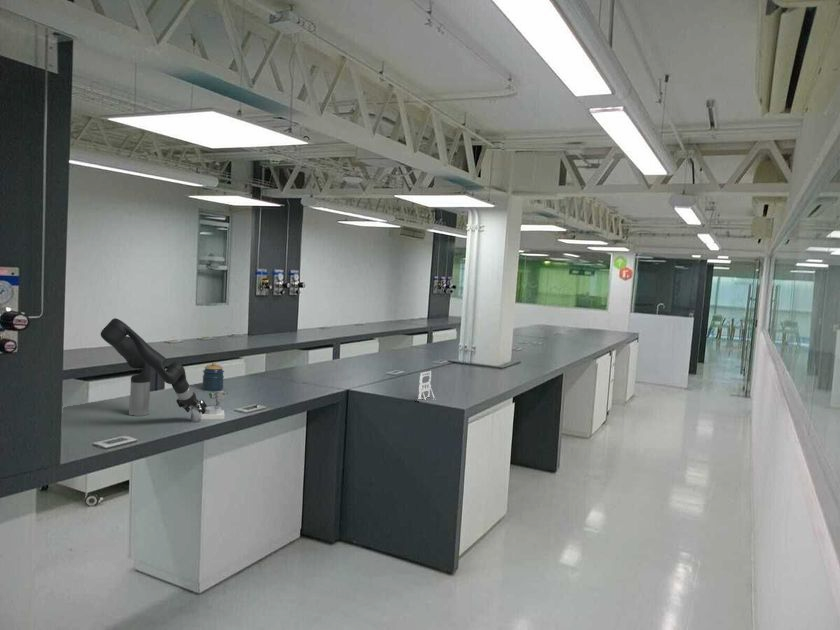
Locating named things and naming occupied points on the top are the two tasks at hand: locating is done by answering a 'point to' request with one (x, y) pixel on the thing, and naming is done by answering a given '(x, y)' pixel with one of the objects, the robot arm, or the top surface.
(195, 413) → the clear glass jar
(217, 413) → the flange plate
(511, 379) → the top surface
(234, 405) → the top surface
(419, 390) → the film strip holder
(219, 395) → the mechanical component
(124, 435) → the top surface
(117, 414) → the top surface
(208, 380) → the canister
